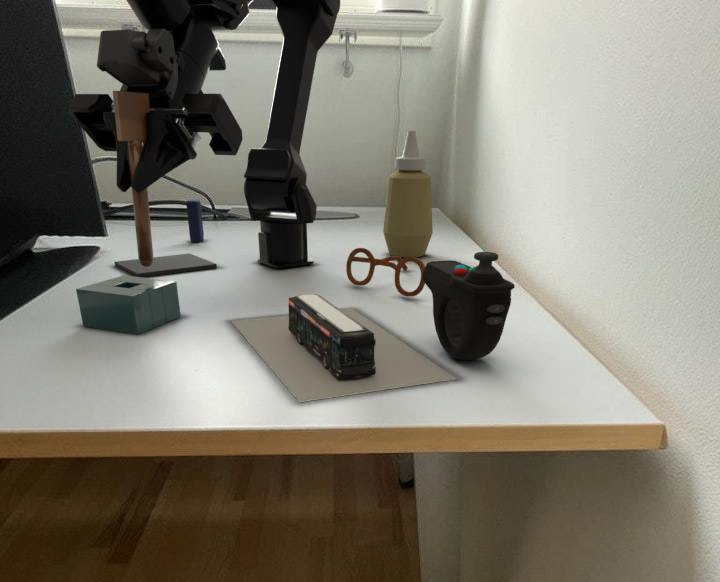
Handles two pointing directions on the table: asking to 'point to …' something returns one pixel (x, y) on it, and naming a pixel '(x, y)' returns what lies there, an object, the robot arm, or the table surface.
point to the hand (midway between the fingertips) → (127, 189)
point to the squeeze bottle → (408, 204)
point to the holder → (129, 304)
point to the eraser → (195, 220)
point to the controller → (468, 305)
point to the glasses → (384, 262)
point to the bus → (334, 351)
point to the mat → (166, 265)
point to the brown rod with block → (136, 161)
